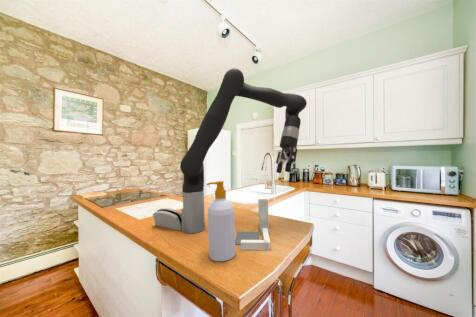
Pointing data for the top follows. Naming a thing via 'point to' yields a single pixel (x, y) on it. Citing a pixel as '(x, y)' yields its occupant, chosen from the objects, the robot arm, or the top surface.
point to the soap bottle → (221, 226)
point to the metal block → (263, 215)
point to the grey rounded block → (168, 218)
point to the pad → (246, 236)
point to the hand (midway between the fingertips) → (282, 172)
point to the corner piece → (257, 242)
